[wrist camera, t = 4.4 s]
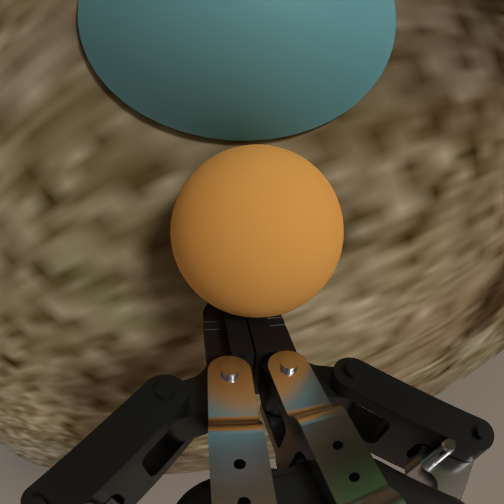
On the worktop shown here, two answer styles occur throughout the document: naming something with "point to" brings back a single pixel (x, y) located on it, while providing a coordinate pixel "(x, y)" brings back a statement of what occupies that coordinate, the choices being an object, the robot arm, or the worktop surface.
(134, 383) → the worktop surface
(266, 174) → the ball
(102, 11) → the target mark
